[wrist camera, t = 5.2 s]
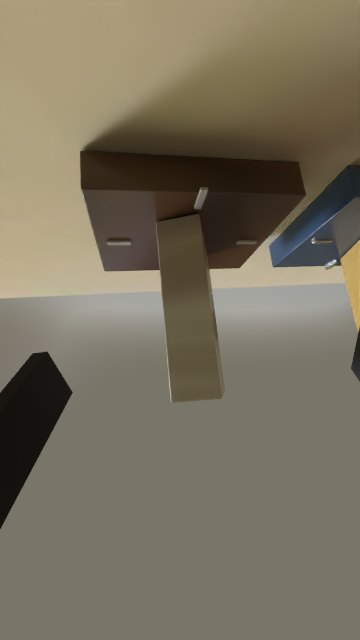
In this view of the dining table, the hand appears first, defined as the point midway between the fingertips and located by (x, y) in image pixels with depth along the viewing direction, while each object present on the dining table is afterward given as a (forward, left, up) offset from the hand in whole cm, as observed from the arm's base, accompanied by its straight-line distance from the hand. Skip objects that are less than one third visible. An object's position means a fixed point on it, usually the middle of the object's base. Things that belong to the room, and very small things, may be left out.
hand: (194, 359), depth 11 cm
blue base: (+15, -4, -10) cm, 18 cm away
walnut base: (+1, -4, -10) cm, 10 cm away
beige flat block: (+1, -4, -8) cm, 9 cm away
